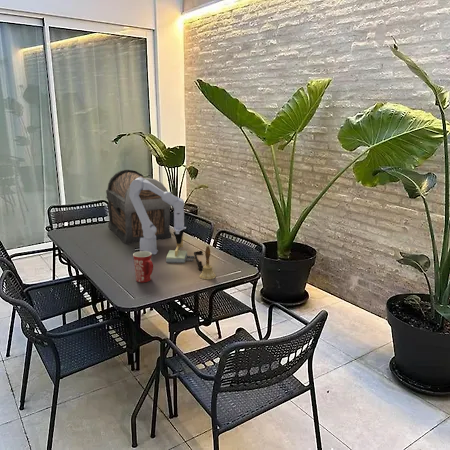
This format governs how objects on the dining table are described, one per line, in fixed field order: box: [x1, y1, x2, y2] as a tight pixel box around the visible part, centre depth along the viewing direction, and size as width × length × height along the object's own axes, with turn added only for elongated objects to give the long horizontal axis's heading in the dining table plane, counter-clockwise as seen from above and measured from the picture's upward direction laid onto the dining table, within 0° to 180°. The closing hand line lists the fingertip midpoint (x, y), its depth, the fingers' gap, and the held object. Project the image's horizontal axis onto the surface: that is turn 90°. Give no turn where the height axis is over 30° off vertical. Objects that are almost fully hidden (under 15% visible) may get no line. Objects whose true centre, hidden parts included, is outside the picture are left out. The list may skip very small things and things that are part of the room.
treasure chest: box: [105, 169, 173, 245], centre depth 278 cm, size 45×32×40 cm
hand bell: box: [198, 245, 217, 281], centre depth 208 cm, size 8×8×16 cm
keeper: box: [185, 255, 195, 262], centre depth 234 cm, size 4×6×1 cm
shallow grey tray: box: [165, 252, 188, 264], centre depth 234 cm, size 10×12×2 cm
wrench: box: [193, 250, 204, 272], centre depth 229 cm, size 5×5×30 cm
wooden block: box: [175, 234, 184, 248], centre depth 242 cm, size 4×4×6 cm
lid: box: [165, 247, 188, 260], centre depth 233 cm, size 10×12×4 cm
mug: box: [132, 250, 154, 283], centre depth 202 cm, size 13×9×14 cm
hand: (179, 242), depth 242 cm, fingers closed on wooden block, 3 cm apart
